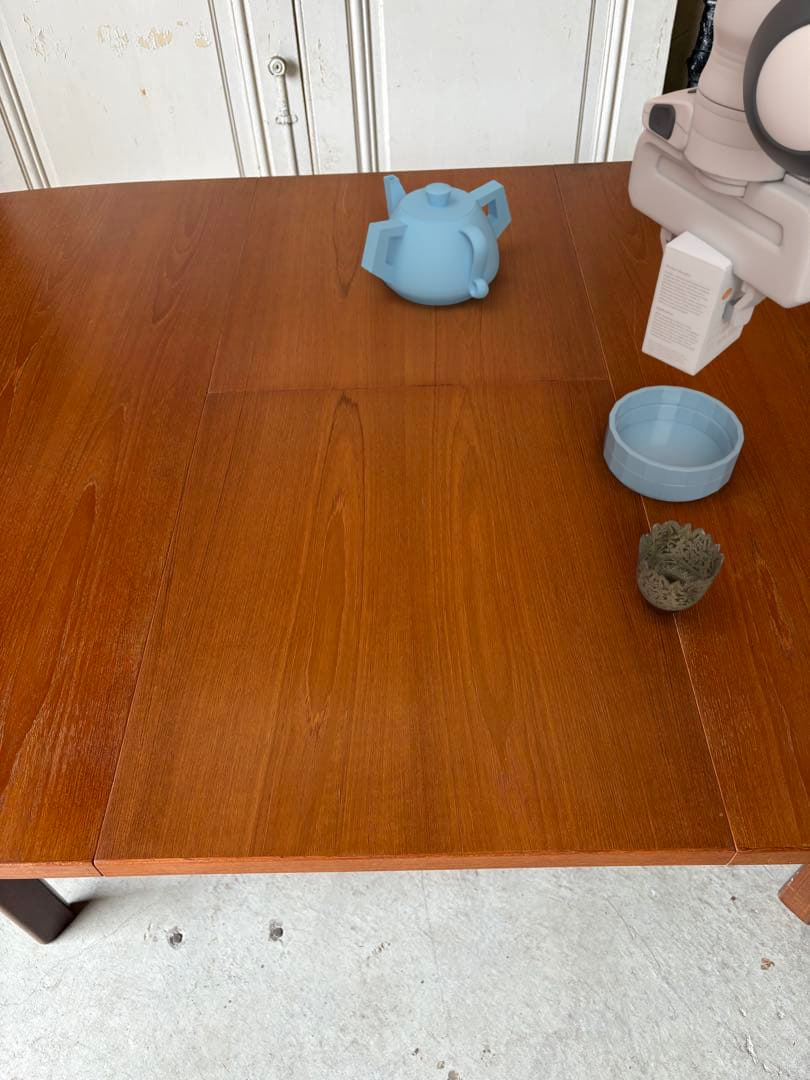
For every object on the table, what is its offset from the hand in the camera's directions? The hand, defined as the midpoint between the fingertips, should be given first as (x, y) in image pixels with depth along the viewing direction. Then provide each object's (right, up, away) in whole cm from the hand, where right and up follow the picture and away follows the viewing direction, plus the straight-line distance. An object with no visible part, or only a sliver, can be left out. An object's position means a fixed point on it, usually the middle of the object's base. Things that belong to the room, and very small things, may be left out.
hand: (702, 299), depth 70 cm
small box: (0, -3, +4) cm, 5 cm away
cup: (0, -27, +10) cm, 29 cm away
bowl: (+4, -12, +24) cm, 27 cm away
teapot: (-21, +18, +52) cm, 59 cm away
